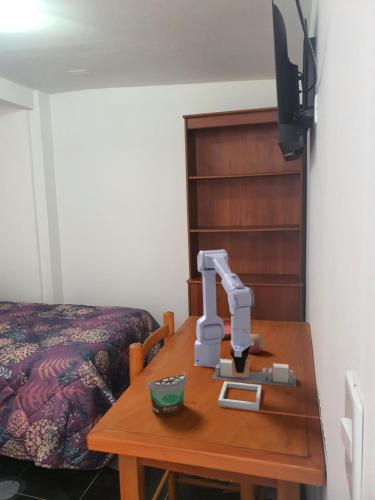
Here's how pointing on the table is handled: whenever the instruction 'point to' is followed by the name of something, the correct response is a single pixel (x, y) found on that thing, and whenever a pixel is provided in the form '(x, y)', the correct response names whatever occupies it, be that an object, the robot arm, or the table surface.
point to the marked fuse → (246, 369)
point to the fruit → (256, 343)
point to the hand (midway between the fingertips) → (240, 369)
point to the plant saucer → (227, 328)
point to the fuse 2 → (280, 372)
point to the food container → (167, 395)
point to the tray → (236, 403)
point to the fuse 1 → (226, 367)
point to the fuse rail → (257, 377)
